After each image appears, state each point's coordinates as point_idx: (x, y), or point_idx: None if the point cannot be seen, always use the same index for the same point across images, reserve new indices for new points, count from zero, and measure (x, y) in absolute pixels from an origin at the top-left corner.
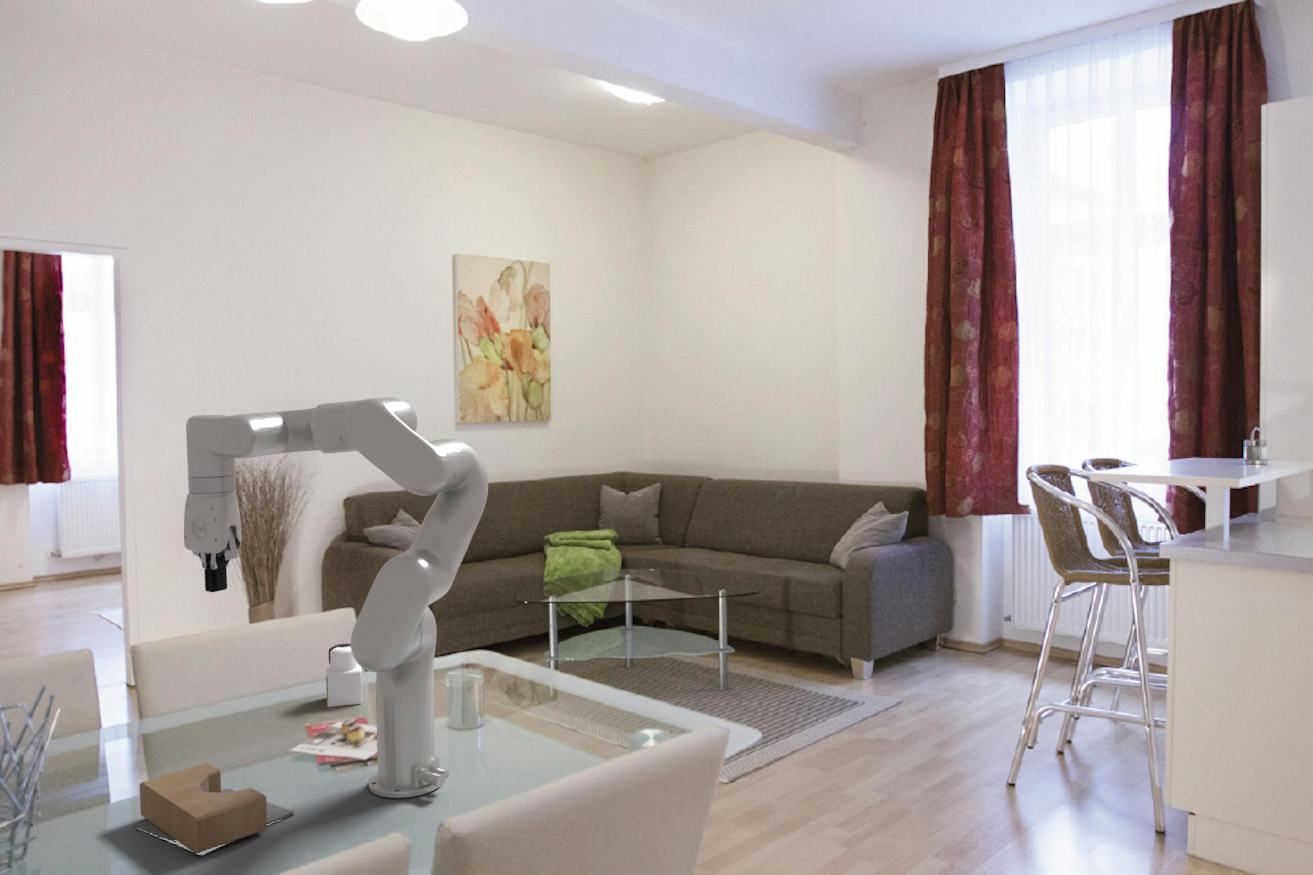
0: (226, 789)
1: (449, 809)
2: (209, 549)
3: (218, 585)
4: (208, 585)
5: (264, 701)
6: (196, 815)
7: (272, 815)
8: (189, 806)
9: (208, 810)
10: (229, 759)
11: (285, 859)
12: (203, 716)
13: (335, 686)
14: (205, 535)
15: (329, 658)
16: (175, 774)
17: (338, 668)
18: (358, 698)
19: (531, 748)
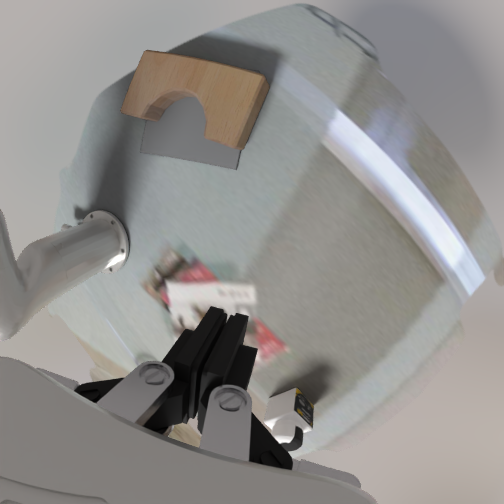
0: (234, 166)
1: (62, 210)
2: (40, 391)
3: (185, 331)
4: (225, 326)
5: (372, 385)
6: (147, 53)
7: (150, 137)
8: (165, 60)
9: (143, 64)
10: (302, 245)
11: (105, 95)
12: (412, 339)
13: (287, 404)
14: (13, 488)
15: (297, 430)
16: (242, 105)
17: (285, 421)
18: (270, 400)
19: (82, 323)
